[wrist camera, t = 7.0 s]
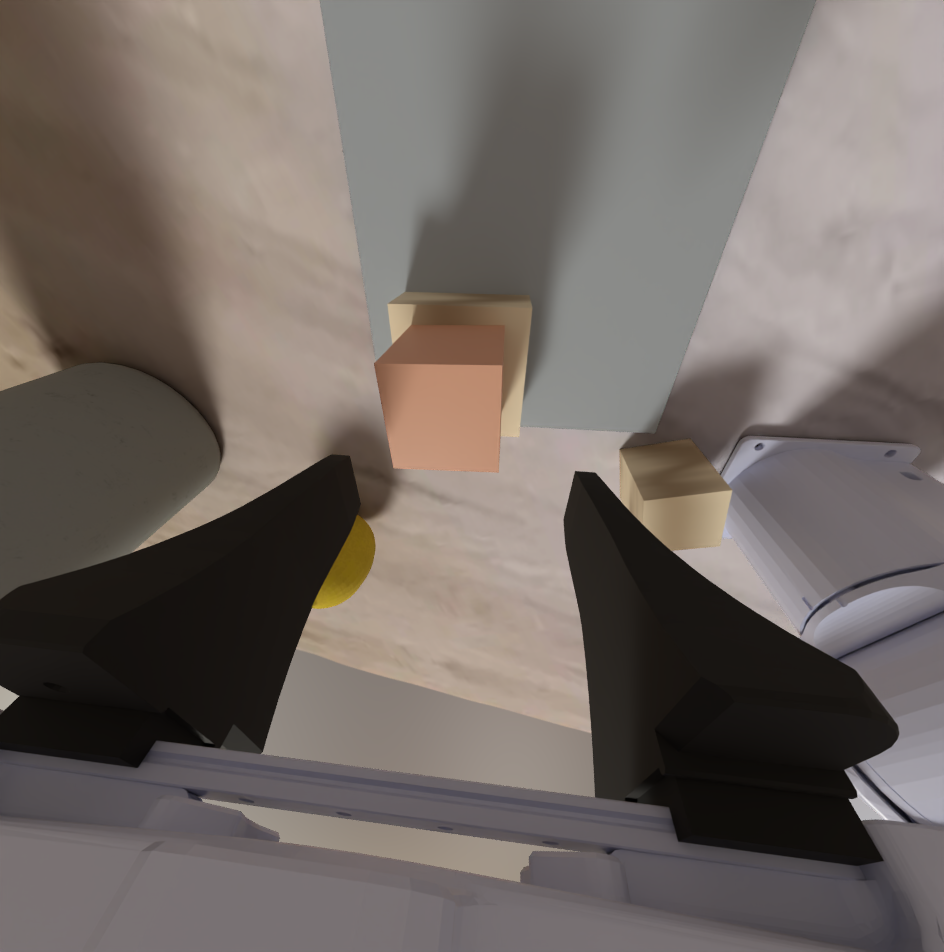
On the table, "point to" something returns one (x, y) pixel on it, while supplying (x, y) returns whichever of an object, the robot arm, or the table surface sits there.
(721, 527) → the birch block
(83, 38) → the table surface
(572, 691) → the table surface
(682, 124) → the board
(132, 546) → the water bottle
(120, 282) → the table surface
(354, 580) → the lemon
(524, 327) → the block
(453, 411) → the terracotta block
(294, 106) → the table surface
